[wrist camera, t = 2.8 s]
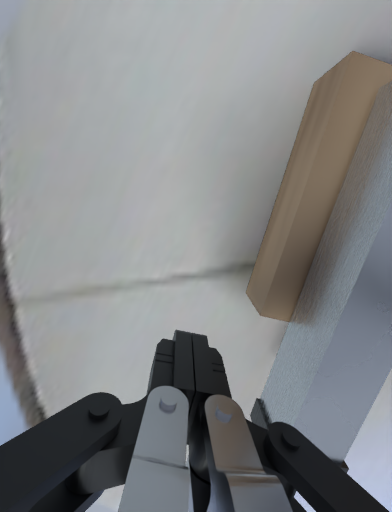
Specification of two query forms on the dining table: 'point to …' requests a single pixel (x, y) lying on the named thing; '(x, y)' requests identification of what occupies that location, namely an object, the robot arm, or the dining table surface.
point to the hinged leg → (342, 307)
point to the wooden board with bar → (313, 181)
